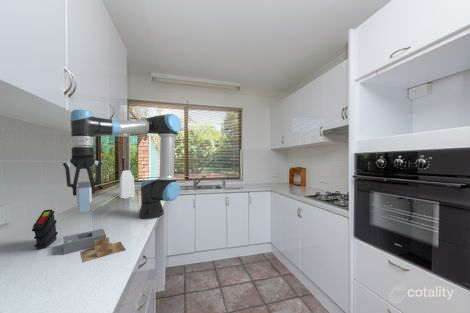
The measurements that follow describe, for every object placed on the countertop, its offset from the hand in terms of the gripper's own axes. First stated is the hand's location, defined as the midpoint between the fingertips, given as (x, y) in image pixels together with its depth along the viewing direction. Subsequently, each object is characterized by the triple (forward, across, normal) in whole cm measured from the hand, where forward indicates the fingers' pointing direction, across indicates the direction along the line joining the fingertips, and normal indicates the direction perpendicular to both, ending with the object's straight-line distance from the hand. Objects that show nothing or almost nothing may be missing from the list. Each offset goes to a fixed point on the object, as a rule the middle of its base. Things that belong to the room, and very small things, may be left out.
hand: (84, 202), depth 87 cm
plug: (+4, 0, 0) cm, 4 cm away
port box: (+19, 0, 0) cm, 19 cm away
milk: (+19, +41, +114) cm, 123 cm away
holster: (+19, +5, -12) cm, 23 cm away
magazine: (+19, -13, +15) cm, 28 cm away
